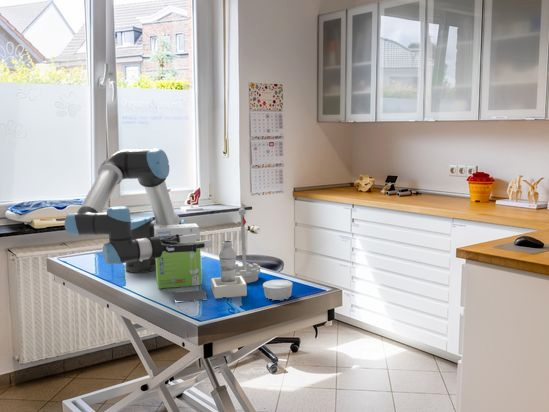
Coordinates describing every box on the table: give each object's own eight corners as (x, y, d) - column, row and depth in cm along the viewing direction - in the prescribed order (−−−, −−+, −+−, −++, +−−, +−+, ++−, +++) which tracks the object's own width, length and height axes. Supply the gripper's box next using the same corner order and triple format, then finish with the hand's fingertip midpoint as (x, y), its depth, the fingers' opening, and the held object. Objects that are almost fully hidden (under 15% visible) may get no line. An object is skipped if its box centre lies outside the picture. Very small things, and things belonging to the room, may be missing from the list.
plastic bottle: (220, 290, 228) (218, 240, 225) (237, 289, 228) (235, 239, 225) (220, 295, 221) (217, 243, 218) (237, 294, 222) (235, 243, 219)
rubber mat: (174, 302, 214) (174, 301, 214) (173, 293, 225) (173, 292, 225) (207, 300, 216) (207, 298, 216) (204, 290, 228) (204, 289, 228)
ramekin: (270, 303, 210) (269, 289, 210) (258, 295, 220) (258, 281, 220) (298, 299, 215) (297, 285, 214) (285, 291, 225) (285, 278, 224)
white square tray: (215, 298, 218) (214, 286, 217) (211, 289, 229) (211, 278, 229) (246, 295, 220) (246, 284, 220) (241, 286, 232) (241, 275, 231)
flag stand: (225, 277, 247) (222, 207, 242) (254, 273, 251) (252, 204, 247) (234, 285, 235) (231, 211, 230) (264, 281, 239) (262, 208, 235)
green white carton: (198, 278, 246) (196, 222, 242) (202, 285, 236) (199, 226, 232) (156, 282, 241) (153, 225, 238) (158, 289, 231) (154, 229, 228)
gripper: (137, 252, 216) (190, 244, 228) (162, 265, 195) (219, 256, 207) (136, 232, 215) (189, 226, 226) (161, 243, 194) (218, 235, 206)
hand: (203, 240), depth 217 cm, fingers open, 13 cm apart
